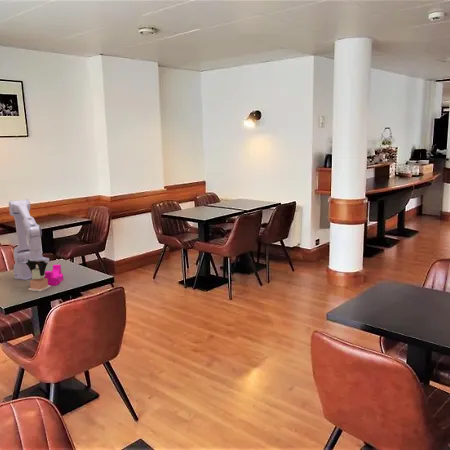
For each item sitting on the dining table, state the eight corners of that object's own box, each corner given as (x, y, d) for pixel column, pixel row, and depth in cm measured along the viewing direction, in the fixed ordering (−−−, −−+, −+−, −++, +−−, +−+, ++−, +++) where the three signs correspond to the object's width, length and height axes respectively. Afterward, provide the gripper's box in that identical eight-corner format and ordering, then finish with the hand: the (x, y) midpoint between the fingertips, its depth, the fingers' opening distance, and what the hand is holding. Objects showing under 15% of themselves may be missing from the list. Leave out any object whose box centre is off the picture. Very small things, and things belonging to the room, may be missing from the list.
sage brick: (37, 275, 239) (36, 267, 238) (45, 276, 238) (44, 268, 237) (32, 278, 235) (31, 270, 234) (40, 279, 234) (39, 270, 233)
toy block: (56, 286, 241) (55, 272, 239) (44, 286, 241) (43, 272, 239) (66, 277, 256) (65, 264, 254) (55, 277, 256) (54, 264, 254)
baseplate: (27, 289, 235) (27, 288, 235) (39, 285, 242) (38, 284, 242) (40, 291, 232) (40, 290, 232) (51, 286, 239) (51, 285, 239)
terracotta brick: (30, 288, 235) (29, 280, 234) (39, 284, 241) (38, 277, 240) (39, 289, 233) (39, 282, 232) (48, 285, 239) (47, 278, 238)
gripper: (18, 250, 232) (21, 275, 235) (41, 252, 227) (43, 278, 230) (28, 247, 238) (31, 272, 241) (51, 248, 233) (53, 274, 236)
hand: (38, 274), depth 236 cm, fingers closed on sage brick, 5 cm apart
